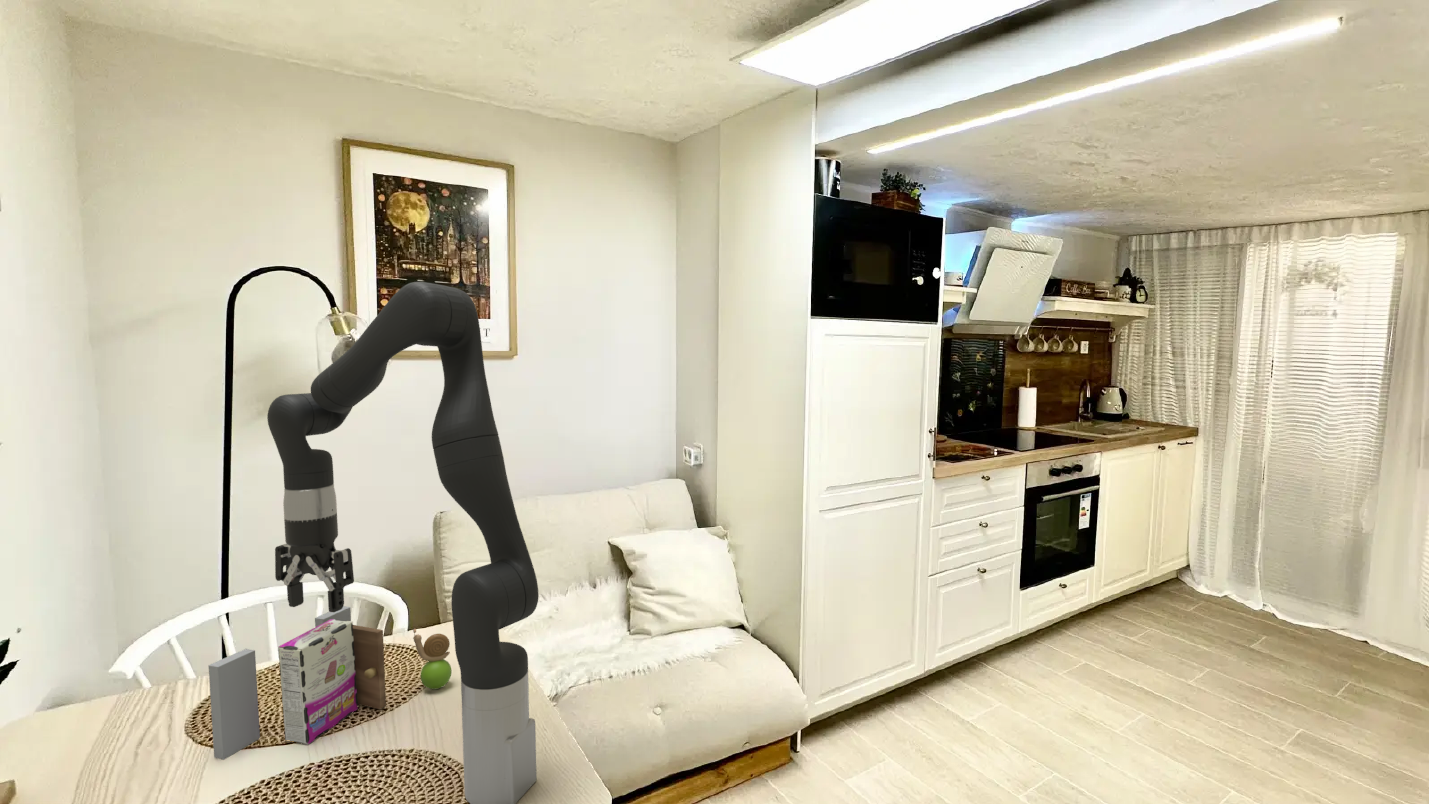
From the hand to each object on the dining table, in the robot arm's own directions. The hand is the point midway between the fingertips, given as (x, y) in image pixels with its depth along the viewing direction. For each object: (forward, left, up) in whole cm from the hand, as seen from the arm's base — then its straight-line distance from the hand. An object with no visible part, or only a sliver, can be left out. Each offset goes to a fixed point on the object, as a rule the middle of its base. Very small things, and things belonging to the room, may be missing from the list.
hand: (315, 608), depth 111 cm
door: (0, -7, -20) cm, 21 cm away
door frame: (+8, -1, -21) cm, 22 cm away
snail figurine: (-9, -16, -21) cm, 28 cm away
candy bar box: (0, 0, -21) cm, 21 cm away
